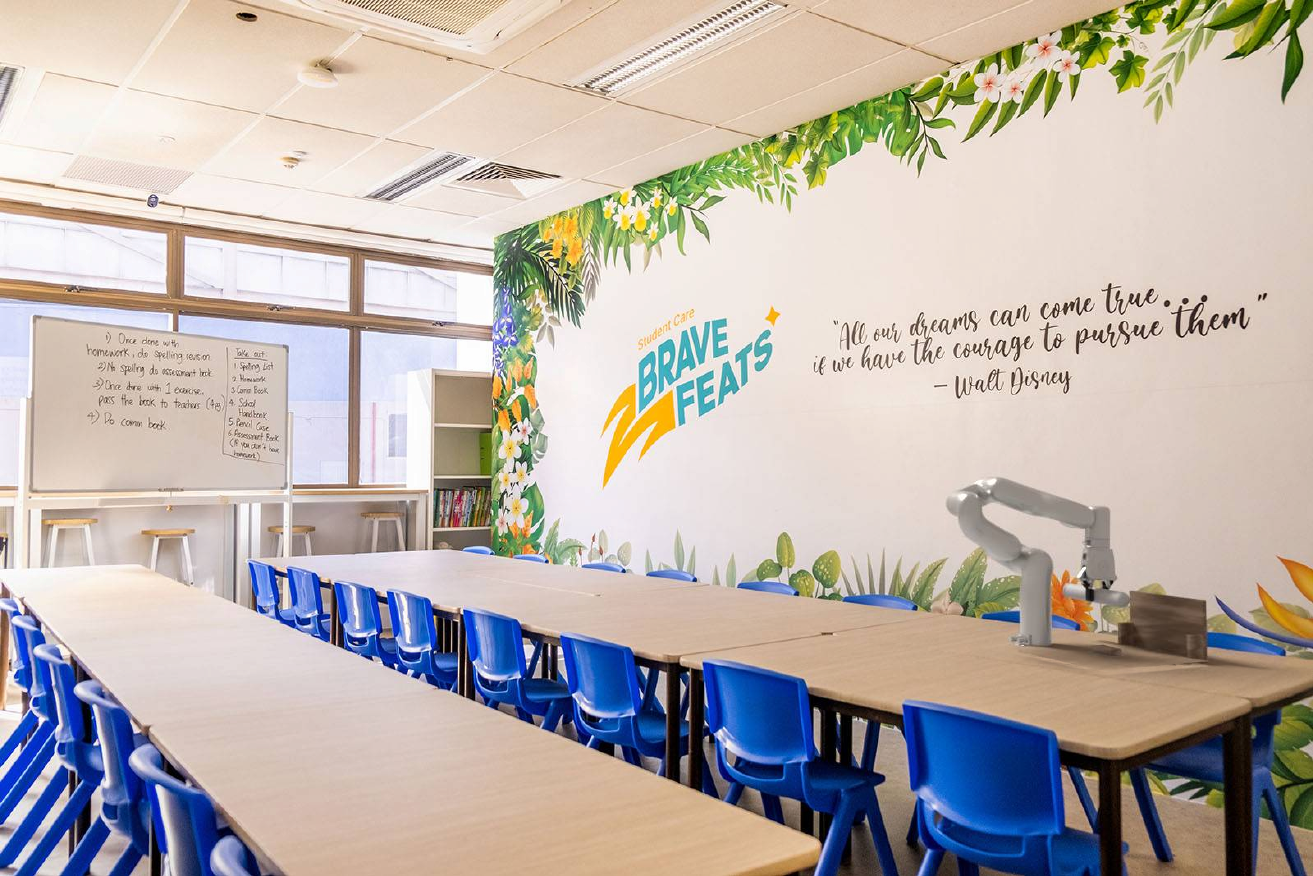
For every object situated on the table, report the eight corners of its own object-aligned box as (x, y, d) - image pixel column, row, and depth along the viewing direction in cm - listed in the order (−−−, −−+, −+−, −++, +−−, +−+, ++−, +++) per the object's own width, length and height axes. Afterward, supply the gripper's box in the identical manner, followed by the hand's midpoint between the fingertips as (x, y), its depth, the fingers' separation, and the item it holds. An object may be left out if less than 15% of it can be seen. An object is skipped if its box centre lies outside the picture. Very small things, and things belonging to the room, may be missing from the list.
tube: (1135, 595, 313) (1077, 585, 337) (1122, 589, 312) (1065, 580, 335) (1131, 611, 313) (1072, 600, 336) (1118, 606, 311) (1060, 595, 334)
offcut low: (1111, 663, 297) (1111, 657, 297) (1087, 658, 307) (1087, 651, 307) (1125, 662, 299) (1125, 656, 299) (1100, 657, 308) (1100, 650, 308)
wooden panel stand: (1190, 663, 296) (1189, 601, 296) (1118, 647, 322) (1117, 591, 323) (1207, 661, 298) (1206, 600, 299) (1134, 646, 324) (1133, 590, 325)
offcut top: (1110, 656, 299) (1110, 649, 299) (1091, 651, 306) (1091, 645, 306) (1121, 655, 300) (1121, 648, 300) (1102, 651, 307) (1102, 644, 307)
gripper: (1082, 545, 319) (1082, 602, 318) (1127, 545, 323) (1127, 602, 322) (1067, 543, 326) (1066, 599, 325) (1111, 543, 330) (1110, 599, 330)
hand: (1097, 600), depth 324 cm, fingers closed on tube, 4 cm apart
